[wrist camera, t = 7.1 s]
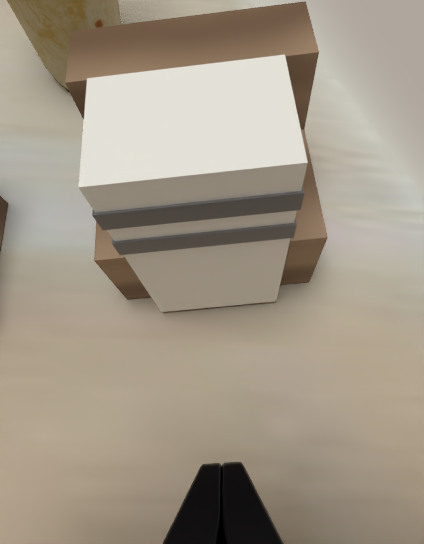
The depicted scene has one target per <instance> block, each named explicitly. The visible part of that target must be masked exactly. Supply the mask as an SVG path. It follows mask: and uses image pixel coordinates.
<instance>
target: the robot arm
mask: <svg viewBox="0 0 424 544" xmlns="http://www.w3.org/2000/svg"><path fill="white" fill-rule="evenodd" d="M163 544H284V543H283V541H282V539H281V537H280V535H279V534H278V532H277V530H276V528H275V526H274V524H273V522H272V520H271V518H270V516H269V514H268V512H267V510H266V508H265V506H264V504H263V502H262V500H261V498H260V496H259V495H258V493H257V491H256V489H255V487H254V485H253V483H252V481H251V479H250V477H249V475H248V473H247V471H246V469H245V467H244V465H243V464H242V463H241V462H228V463H224V464H223V465H221V464H219V463H212V464H203V465H202V466H201V467H200V469H199V471H198V473H197V475H196V477H195V479H194V481H193V483H192V485H191V487H190V489H189V491H188V493H187V495H186V497H185V499H184V501H183V503H182V505H181V507H180V509H179V511H178V513H177V515H176V517H175V519H174V521H173V523H172V525H171V527H170V530H169V532H168V534H167V536H166V538H165V540H164V542H163Z"/></svg>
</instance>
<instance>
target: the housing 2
mask: <svg viewBox="0 0 424 544" xmlns="http://www.w3.org/2000/svg"><path fill="white" fill-rule="evenodd" d="M318 54H319V51H318V47H317V44H316V40H315V36H314V32H313V28H312V24H311V21H310V17H309V13H308V9H307V5H306V2H298V3H291V4H282V5H274V6H266V7H258V8H250V9H242V10H234V11H226V12H218V13H210V14H202V15H194V16H186V17H178V18H170V19H163V20H155V21H147V22H139V23H131V24H123V25H115V26H107V27H99V28H91V29H83V30H75V31H71V33H70V42H69V51H68V60H67V70H66V79H65V84H66V85H67V87H68V89H69V91H70V93H71V95H72V97H73V99H74V101H75V103H76V105H77V107H78V109H79V111H80V113H81V115H82V117H83V119H84V111H85V98H86V85H87V78H94V77H102V76H111V75H119V74H127V73H136V72H144V71H152V70H161V69H169V68H177V67H186V66H194V65H202V64H210V63H219V62H227V61H235V60H244V59H252V58H260V57H269V56H277V55H285V57H286V62H287V67H288V71H289V76H290V81H291V86H292V90H293V95H294V100H295V105H296V109H297V114H298V119H299V123H300V128H301V133H302V138H303V142H304V147H305V152H306V157H307V161H308V164H307V168H306V172H305V177H304V181H303V188H304V197H303V202H302V206H301V210H297V212H296V223H297V226H296V231H295V235H294V238H291V239H290V243H289V247H288V252H287V256H286V261H285V265H284V270H283V274H282V278H281V285H283V284H294V283H304V282H309V281H310V279H311V276H312V274H313V271H314V269H315V267H316V264H317V262H318V259H319V257H320V254H321V252H322V249H323V247H324V244H325V242H326V240H327V233H326V228H325V224H324V219H323V215H322V210H321V205H320V201H319V196H318V191H317V187H316V182H315V177H314V173H313V168H312V164H311V159H310V154H309V150H308V145H307V140H306V136H305V131H304V127H305V122H306V117H307V111H308V106H309V101H310V96H311V90H312V85H313V80H314V75H315V69H316V64H317V59H318ZM94 261H95V262H96V263H97V264H98V266H99V267H100V268H101V269H102V270H103V271H104V273H105V274H106V275H107V276H108V277H109V279H110V280H111V281H112V282H113V283H114V284H115V286H116V287H117V288H118V289H119V290H120V292H121V293H122V294H123V295H124V296H125V298H126V299H136V298H147V297H151V296H150V295H149V293H148V292H147V290H146V289H145V287H144V286H143V284H142V283H141V281H140V280H139V278H138V276H137V275H136V273H135V272H134V270H133V269H132V267H131V266H130V264H129V263H128V261H127V260H126V258H125V257H124V255H119V253H118V252H117V251H116V249H115V248H114V246H113V245H112V237H111V236H110V234H109V233H108V231H107V230H102V229H101V227H100V226H99V224H98V223H97V221H96V239H95V257H94Z"/></svg>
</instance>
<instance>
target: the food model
mask: <svg viewBox="0 0 424 544" xmlns="http://www.w3.org/2000/svg"><path fill="white" fill-rule="evenodd" d="M7 2H8V3H9V5H10V7H11V8H12V10H13V12H14V13H15V15H16V17H17V19H18V20H19V22H20V24H21V25H22V27H23V29H24V31H25V32H26V34H27V36H28V38H29V39H30V41H31V43H32V45H33V46H34V48H35V50H36V52H37V53H38V55H39V57H40V58H41V60H42V62H43V64H44V65H45V67H46V69H47V70H48V71H49V72H50V73H51V74H52V75H53V77H54V78H55V79H56V80H57V81H58V82H59V83H60V84H61V85H62V86H64V87H65V88H66V89H68V87H67V85H66V84H65V79H66V70H67V60H68V51H69V42H70V33H71V31H75V30H83V29H91V28H99V27H107V26H115V25H121V19H120V12H119V5H118V0H7ZM68 90H69V89H68Z"/></svg>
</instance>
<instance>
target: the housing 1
mask: <svg viewBox="0 0 424 544" xmlns="http://www.w3.org/2000/svg"><path fill="white" fill-rule="evenodd" d="M7 206H8V203H7V202H6V201H5V200H4V199H3V198H2V197H1V196H0V250H1V243H2V237H3V231H4V225H5V219H6V213H7Z"/></svg>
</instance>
